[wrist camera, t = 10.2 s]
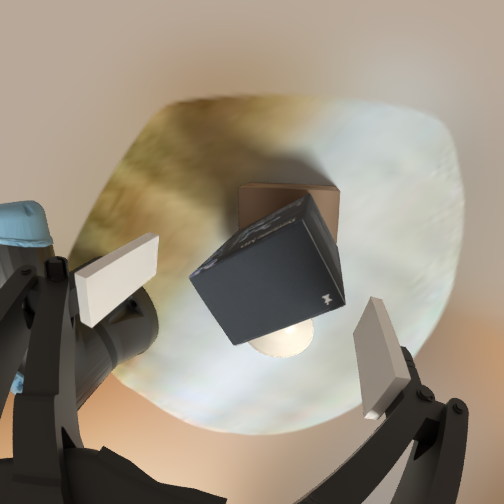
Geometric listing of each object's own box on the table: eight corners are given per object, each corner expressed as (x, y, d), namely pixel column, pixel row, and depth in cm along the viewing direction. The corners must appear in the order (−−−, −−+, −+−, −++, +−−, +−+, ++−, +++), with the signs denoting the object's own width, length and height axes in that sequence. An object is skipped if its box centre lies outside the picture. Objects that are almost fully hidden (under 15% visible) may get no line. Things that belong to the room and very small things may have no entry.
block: (251, 261, 32) (239, 279, 27) (251, 182, 29) (238, 187, 24) (330, 267, 30) (331, 286, 25) (336, 185, 27) (340, 191, 22)
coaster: (237, 342, 36) (236, 345, 35) (251, 287, 33) (250, 289, 32) (300, 361, 35) (300, 364, 34) (323, 308, 31) (323, 311, 31)
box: (309, 191, 23) (304, 217, 13) (338, 247, 24) (349, 308, 14) (234, 231, 26) (184, 278, 16) (264, 281, 27) (233, 350, 17)
